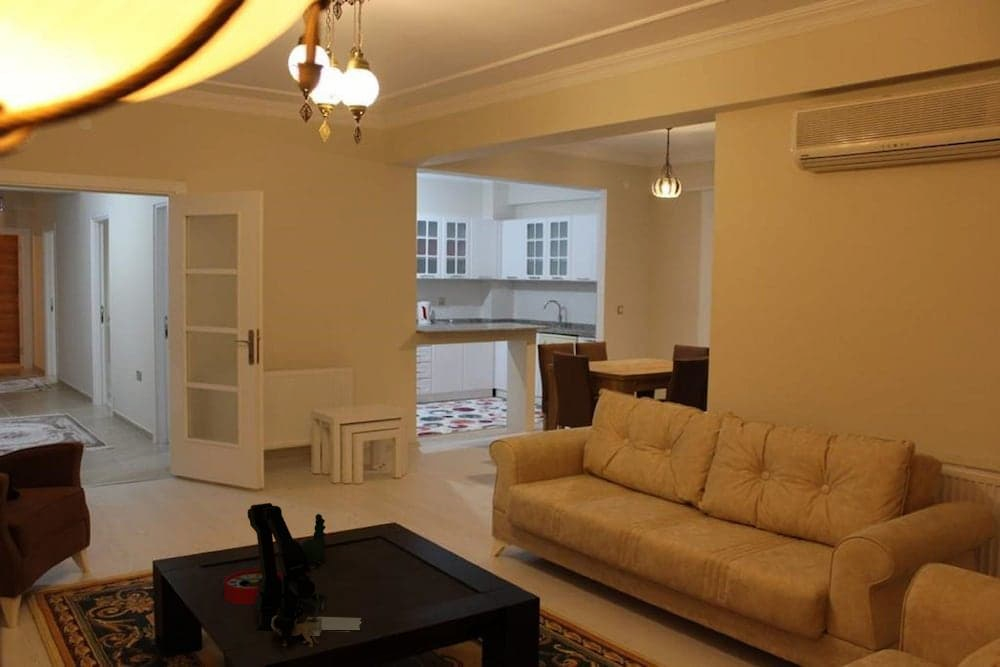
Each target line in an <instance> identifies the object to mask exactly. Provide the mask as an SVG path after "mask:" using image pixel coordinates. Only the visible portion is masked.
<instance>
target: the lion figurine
mask: <svg viewBox="0 0 1000 667" xmlns="http://www.w3.org/2000/svg"><path fill="white" fill-rule="evenodd" d="M278 615H279V614H278ZM278 615H276V616H275V617H273V618H272V623H271V627H272V629H273V630H272V631H274V632H276V633H277V634H278V635H279V636H283V635H282V633H281V631H280V630H279V628H275V627H274V620H275V618H276V617H277V616H278ZM310 631H311V634H312V637H310V636H309V632H310ZM292 635H294V636H295V637H297V636H299V635H302V636H303V639H305V640H303V641H302V643H303V644H307V643H309V644H308V645H307V646H308V648H309V647H311V648H313V646H314V643H315V644H317V645H318V644H320V641H318V640H317V639H316V637H314V634H313V630H312V628H311V627H310V625H309V624H307V623H305V622H302V623H299V622H298V624H297V625H296V626H295V627H294V628H293V631H292ZM313 641H314V642H313ZM284 642H285V639H284V638H283V643H282V645H281V646H283V647H287V646H288V644H287V643H286V642H285V643H284ZM306 642H307V643H306Z"/></svg>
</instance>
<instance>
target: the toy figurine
mask: <svg viewBox="0 0 1000 667" xmlns="http://www.w3.org/2000/svg"><path fill="white" fill-rule="evenodd" d="M325 520H326V519H324V518H323V515H322V514H321V513H317V514H316V515H315V525H314V532H313V538H311V539H307V540H305V541H303V543H302V544H300V545H301V546H302V548H303V550H304V551H305V553H306V555H307V558H308V561H309V564H310V567H311V568H312V567H316V568H317V564H319V563H318V562H322V563H324V560H323V558H325V554H326V550H325V547H324V545H325V544H326V542H325V538H324V537H326V536H327V535H326V534H327V533H325V532H324V531H325V529H326V526H325V525H324V524H325Z"/></svg>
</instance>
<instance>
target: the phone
mask: <svg viewBox="0 0 1000 667" xmlns="http://www.w3.org/2000/svg"><path fill="white" fill-rule="evenodd" d="M326 597H327V594H318V598H319V600H320V605H319V607H318V610H317V612H322V613H324V612H325V609H326V608H325V607H326V604H325V603H327V598H328V597H327V598H326ZM319 600H318V601H319ZM324 608H325V609H324ZM323 611H324V612H323Z"/></svg>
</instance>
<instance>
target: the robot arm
mask: <svg viewBox="0 0 1000 667" xmlns="http://www.w3.org/2000/svg"><path fill="white" fill-rule="evenodd" d="M247 518H248V520H249V524H250V526H251V528H252V529H253V530H254V531H255V533H256V538H257V547H258V556H259V563H260V564H259V565H260V570H261V573H262V580H261V582H260V585H259V587H258V595H257V596H256V598H255V600H254V605H253V608H254V609H255V610H256V611H257V612H259V624H258V625H257V627H256V631H257V630H258V631H274V630H273V629H272V627H271V623H272V618H273V617H275V616H276V615H278V616H277V617H276V618H275V620H274V627H275V628H279V630H280V631H281V633H282V635H281V636H282V638H283V640H284V639H285V642H286V643H287V645H288V644H291V642H292V637H293V636H294V635H292V631H293V628H294V627H295V626H296V625H297V624H299V621H300V618H301V616H303V615H304V614H308V615H309V616H311V617H316V614H317V613H316V612H317V610H318V607H319V605H320V600H319V598H318V595H319V594H317V593H315V591H316V586H315V583H314V581H313V580H311V579H310V576H309V575H308V574H307V573H310V572H311V569H310V568H309V567H310V564H309V561H308V558H307V555H306V553H305V551H304V550H303V548H302V546H301V545H302V544H301V543H300V542H298V541H296V540H294V538H293V536H292V534H291V531H290V529H289V527H288V526H287V523H286V521H285V518H284V516H283V513H282V508H281V506H279V505H273V504H272V503H271V502H265V503H257V504H252V505H251V506H250V507H249V509H247ZM274 541H275V543H276V545H277V548H278V552H277V562H278V565H279V567H280V573H281V574H282V580H281V579H280V578H279V577H278V575H277V572H278V569H277V562H276V554H275V544H274ZM318 600H319V601H318ZM279 612H281V613H279ZM304 612H305V613H304Z"/></svg>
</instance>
